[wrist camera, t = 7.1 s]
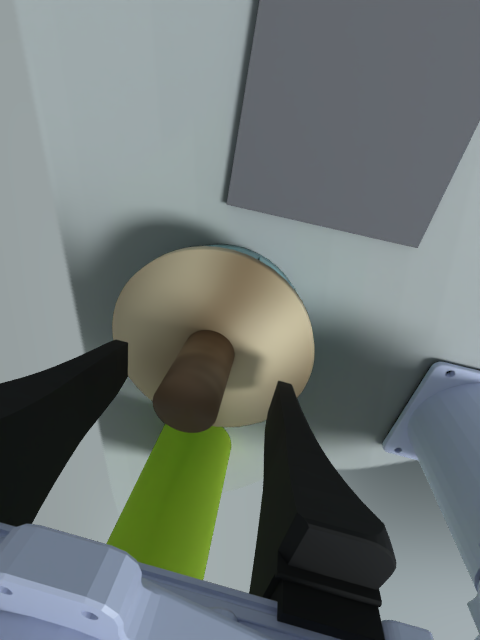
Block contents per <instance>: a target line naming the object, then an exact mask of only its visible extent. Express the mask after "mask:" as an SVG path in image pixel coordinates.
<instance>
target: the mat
mask: <svg viewBox="0 0 480 640" xmlns="http://www.w3.org/2000/svg"><path fill="white" fill-rule="evenodd" d="M479 121H480V0H260V1H259V7H258V13H257V19H256V25H255V31H254V38H253V44H252V50H251V56H250V62H249V69H248V75H247V81H246V87H245V93H244V100H243V106H242V112H241V118H240V124H239V131H238V137H237V143H236V149H235V155H234V162H233V168H232V174H231V180H230V186H229V192H228V199H227V205H231V206H236V207H240V208H244V209H249V210H253V211H257V212H262V213H266V214H271V215H275V216H279V217H284V218H288V219H292V220H297V221H301V222H306V223H310V224H314V225H319V226H323V227H327V228H332V229H336V230H341V231H345V232H349V233H354V234H358V235H362V236H367V237H371V238H376V239H380V240H384V241H389V242H393V243H397V244H402V245H406V246H411V247H415V248H418V246H419V244H420V242H421V240H422V238H423V236H424V234H425V232H426V230H427V228H428V226H429V224H430V222H431V219H432V217H433V215H434V213H435V211H436V209H437V207H438V205H439V203H440V201H441V199H442V197H443V195H444V193H445V191H446V189H447V187H448V185H449V183H450V181H451V179H452V176H453V174H454V172H455V170H456V168H457V166H458V164H459V162H460V160H461V158H462V156H463V154H464V152H465V150H466V148H467V146H468V144H469V142H470V140H471V138H472V135H473V133H474V131H475V129H476V127H477V125H478V123H479Z"/></svg>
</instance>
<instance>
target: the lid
mask: <svg viewBox="0 0 480 640" xmlns="http://www.w3.org/2000/svg"><path fill="white" fill-rule="evenodd" d="M112 331H113V340H120V341H124V342H128V376H129V378H130V379H131V380H132V381H133V383H134V384H135V385H136V386H137V388H138V389H139V390H140V391H141V392H142V393H143V394H144V395H145V396H147V397H148V398H149V399H150V400H151V401H153V407H154V410H155V412H156V414H157V416H158V417H159V418H160V419H161V420H162V421H163V422H164V423H165V424H167V425H168V426H170V427H172V428H173V429H176V430H178V431H182V432H187V433H198V432H202V431H205V430H207V429H209V428H210V427H211V426H215V427H240V426H246V425H252V424H255V423H259V422H262V421H264V420H267V413H268V410H269V407H270V404H271V401H272V398H273V395H274V392H275V389H276V386H277V382H278V381H282V382H286V383H290V384H292V386H293V388H294V391H295V394H296V397H297V398H298V396H299V395H300V394H301V392H302V391H303V390H304V388H305V386H306V384H307V382H308V380H309V377H310V374H311V372H312V368H313V362H314V339H313V332H312V326H311V322H310V319H309V316H308V313H307V311H306V308H305V306H304V304H303V302H302V300H301V299H300V297H299V296H298V294H297V293H296V291H295V290H294V289H293V288H292V286H291V285H290V284H289V283H288V282H287V281H286V280H285V279H284V278H283V277H282V276H281V275H280V274H278V273H277V272H276V271H275V270H274V269H272V268H271V267H269V266H268V265H266V264H265V263H263V262H262V261H260V260H258V259H256V258H254V257H252V256H249V255H247V254H244V253H241V252H238V251H235V250H232V249H227V248H222V247H212V246H197V247H187V248H183V249H178V250H175V251H172V252H169V253H167V254H164V255H162V256H160V257H159V258H157V259H155V260H153V261H152V262H150V263H149V264H147V265H146V266H144V267H143V268H142V269H140V270H139V271H138V272H137V273H135V274H134V275H133V277H132V278H131V279H130V280H129V281H128V282H127V283H126V285H125V286H124V288H123V290H122V291H121V293H120V295H119V297H118V300H117V302H116V305H115V309H114V313H113V322H112Z"/></svg>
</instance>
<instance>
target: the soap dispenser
mask: <svg viewBox="0 0 480 640" xmlns="http://www.w3.org/2000/svg"><path fill="white" fill-rule="evenodd" d="M230 450H231V440H230V437H229V435H228V433H227V432H226V431H225V429H224V428H223V427H215V426H211V427H210V428H209V429H207V430H205V431H202V432H198V433H187V432H182V431H178V430H176V429H173V428H172V427H170V426H168V425H167V424H165V425H164V427H163V429H162V431H161V433H160V435H159V438H158V440H157V442H156V444H155V446H154V448H153V450H152V452H151V454H150V456H149V458H148V460H147V462H146V464H145V466H144V468H143V470H142V472H141V474H140V476H139V478H138V480H137V482H136V484H135V486H134V489H133V491H132V493H131V495H130V497H129V499H128V501H127V503H126V505H125V507H124V509H123V511H122V513H121V515H120V517H119V519H118V521H117V523H116V525H115V527H114V529H113V531H112V533H111V536H110V537H109V540H108V542H107V544H108V545H112V546H114V547H116V548H119V549H121V550H123V551H126V552H127V553H128V554H130V555H131V556H132V557H133V558H135V559H136V560H137V562H141V563H144V564H148V565H151V566H155V567H158V568H162V569H165V570H169V571H172V572H176V573H179V574H183V575H186V576H190V577H193V578H197V579H200V580H203V579H204V574H205V569H206V564H207V560H208V554H209V550H210V545H211V540H212V536H213V531H214V526H215V521H216V517H217V512H218V507H219V503H220V498H221V493H222V488H223V484H224V479H225V474H226V469H227V465H228V460H229V455H230Z"/></svg>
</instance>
